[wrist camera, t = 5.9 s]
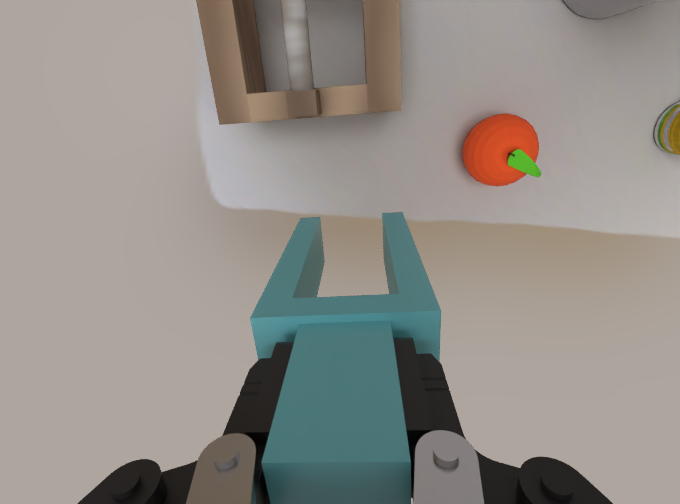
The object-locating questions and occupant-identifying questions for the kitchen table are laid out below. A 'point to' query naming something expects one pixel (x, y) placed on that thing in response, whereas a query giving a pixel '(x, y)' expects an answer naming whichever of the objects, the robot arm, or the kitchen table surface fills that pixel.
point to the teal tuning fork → (342, 373)
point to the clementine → (501, 150)
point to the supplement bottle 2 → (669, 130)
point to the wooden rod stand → (296, 64)
